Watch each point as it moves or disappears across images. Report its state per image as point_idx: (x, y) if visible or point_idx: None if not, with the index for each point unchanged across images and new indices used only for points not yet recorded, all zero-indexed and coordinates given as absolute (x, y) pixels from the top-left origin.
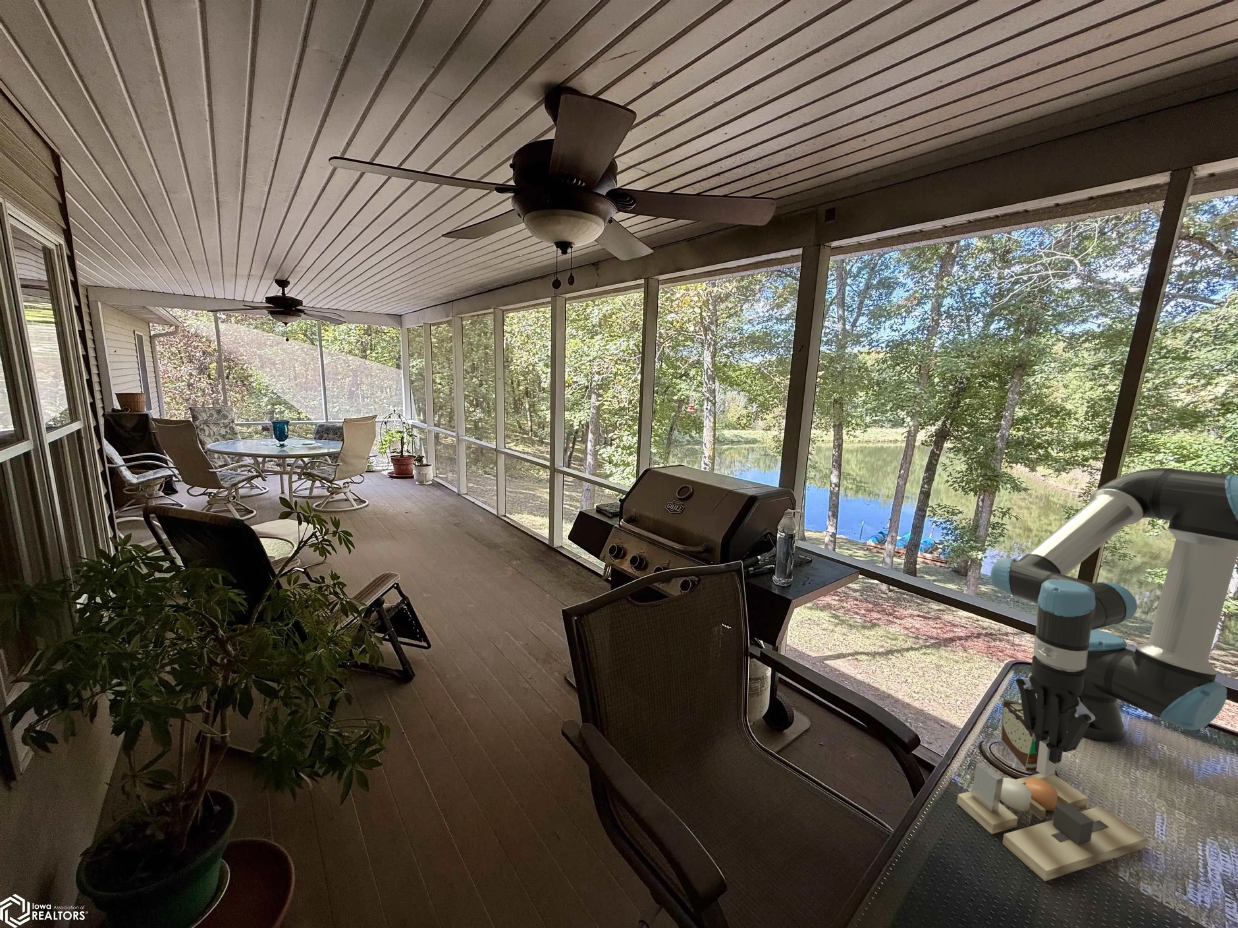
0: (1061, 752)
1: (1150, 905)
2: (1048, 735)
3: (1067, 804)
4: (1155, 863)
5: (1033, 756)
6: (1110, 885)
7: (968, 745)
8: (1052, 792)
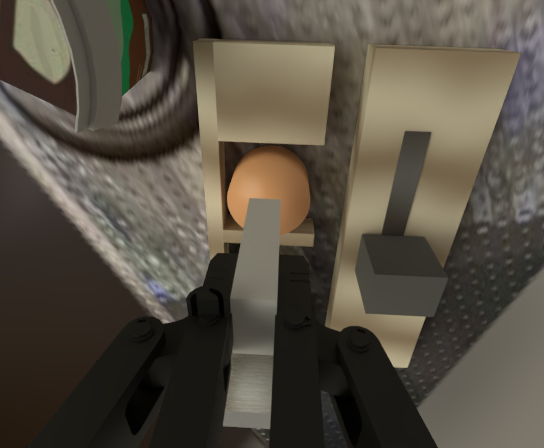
0: (309, 300)
1: (538, 239)
2: (227, 329)
3: (378, 280)
4: (530, 91)
5: (135, 68)
6: (473, 263)
7: (25, 149)
8: (294, 190)
